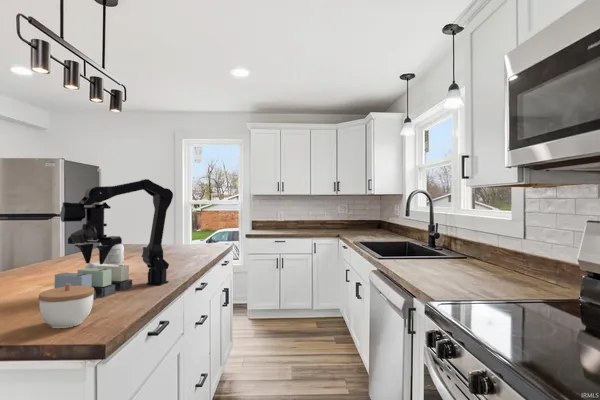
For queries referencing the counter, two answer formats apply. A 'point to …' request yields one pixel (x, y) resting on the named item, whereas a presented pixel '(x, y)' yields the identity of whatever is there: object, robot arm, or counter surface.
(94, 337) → the counter surface
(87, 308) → the lidded bowl
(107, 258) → the supplement can
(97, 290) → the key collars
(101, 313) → the counter surface
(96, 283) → the sage key
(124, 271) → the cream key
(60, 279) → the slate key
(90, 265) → the grey angular block
